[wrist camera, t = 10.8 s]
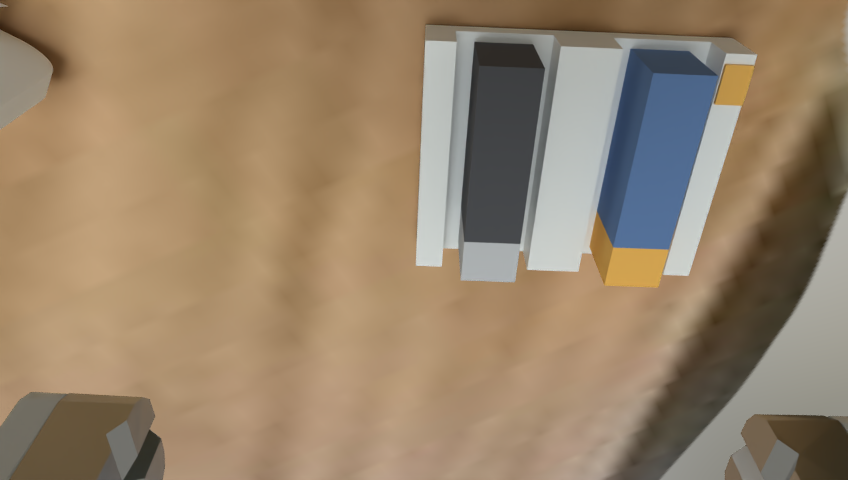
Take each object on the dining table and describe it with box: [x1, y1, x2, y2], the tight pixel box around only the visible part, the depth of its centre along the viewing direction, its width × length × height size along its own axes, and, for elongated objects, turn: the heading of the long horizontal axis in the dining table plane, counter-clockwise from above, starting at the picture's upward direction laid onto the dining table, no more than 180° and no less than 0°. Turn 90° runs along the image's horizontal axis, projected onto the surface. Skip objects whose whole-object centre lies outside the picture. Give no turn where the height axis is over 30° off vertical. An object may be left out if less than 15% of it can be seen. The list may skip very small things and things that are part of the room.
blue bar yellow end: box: [589, 49, 718, 287], centre depth 35 cm, size 12×3×4 cm, turn 178°
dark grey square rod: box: [458, 42, 545, 282], centre depth 35 cm, size 12×3×4 cm, turn 178°
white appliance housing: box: [416, 25, 757, 276], centre depth 36 cm, size 13×16×3 cm
